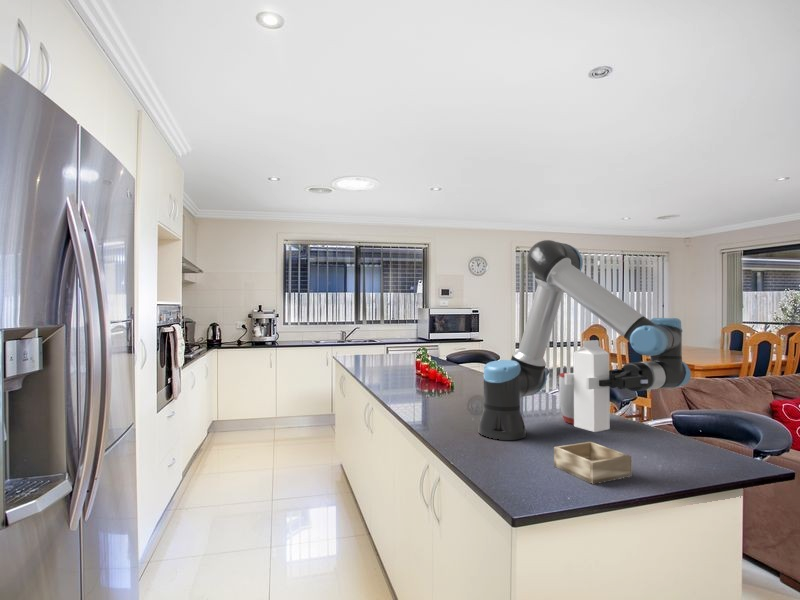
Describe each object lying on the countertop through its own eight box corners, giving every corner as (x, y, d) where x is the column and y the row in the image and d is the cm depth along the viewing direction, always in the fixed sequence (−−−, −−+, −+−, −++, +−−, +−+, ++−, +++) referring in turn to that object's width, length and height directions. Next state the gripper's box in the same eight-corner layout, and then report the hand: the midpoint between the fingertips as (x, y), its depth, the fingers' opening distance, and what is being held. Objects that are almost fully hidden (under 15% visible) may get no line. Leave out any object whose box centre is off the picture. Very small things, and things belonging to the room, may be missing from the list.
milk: (610, 429, 108) (610, 340, 109) (594, 432, 105) (594, 341, 106) (588, 423, 114) (588, 339, 114) (573, 426, 111) (573, 339, 111)
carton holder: (554, 466, 113) (554, 447, 113) (590, 460, 117) (590, 441, 118) (592, 484, 101) (592, 462, 101) (631, 476, 106) (631, 456, 106)
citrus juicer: (594, 416, 166) (594, 364, 166) (612, 429, 148) (612, 370, 149) (552, 415, 167) (552, 363, 168) (565, 427, 150) (565, 369, 150)
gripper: (676, 396, 108) (608, 404, 99) (611, 384, 126) (548, 389, 117) (676, 366, 108) (608, 371, 99) (611, 358, 126) (548, 361, 117)
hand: (576, 381), depth 108 cm, fingers closed on milk, 6 cm apart
